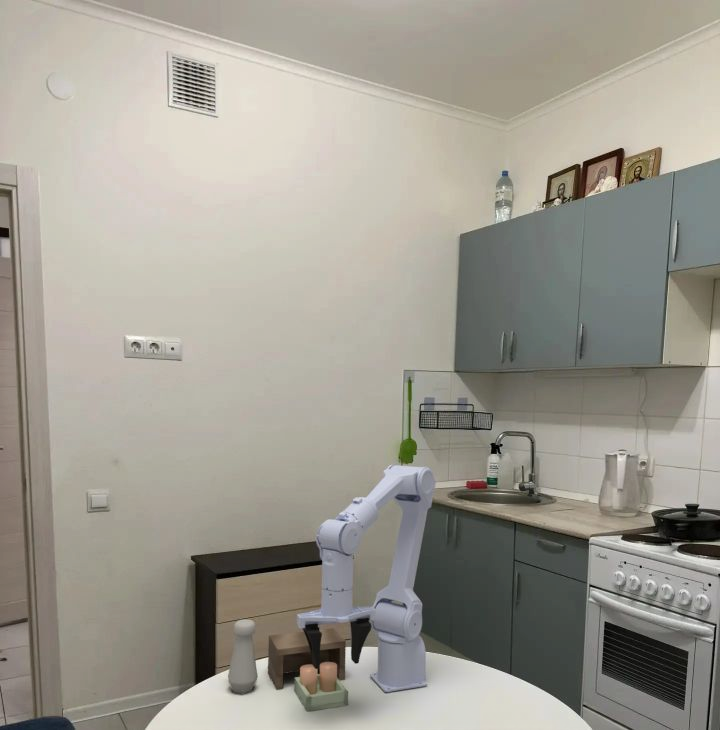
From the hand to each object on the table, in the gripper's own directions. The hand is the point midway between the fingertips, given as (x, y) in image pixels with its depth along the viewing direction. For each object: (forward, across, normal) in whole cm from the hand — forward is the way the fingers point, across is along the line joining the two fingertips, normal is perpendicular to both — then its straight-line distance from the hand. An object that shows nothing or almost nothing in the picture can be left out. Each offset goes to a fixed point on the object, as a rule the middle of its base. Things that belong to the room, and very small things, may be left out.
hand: (335, 664), depth 109 cm
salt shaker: (+10, -14, +17) cm, 24 cm away
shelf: (+9, 0, +18) cm, 21 cm away
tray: (+9, 0, +8) cm, 13 cm away
